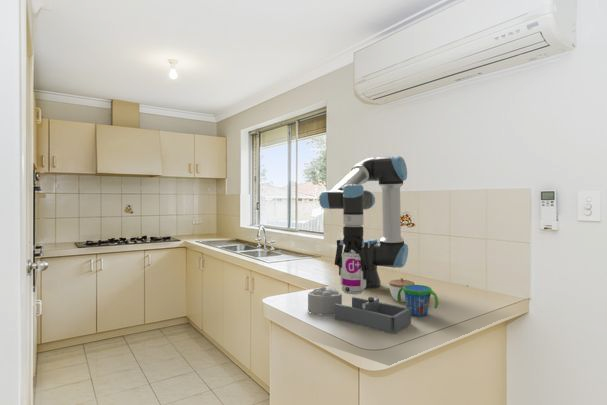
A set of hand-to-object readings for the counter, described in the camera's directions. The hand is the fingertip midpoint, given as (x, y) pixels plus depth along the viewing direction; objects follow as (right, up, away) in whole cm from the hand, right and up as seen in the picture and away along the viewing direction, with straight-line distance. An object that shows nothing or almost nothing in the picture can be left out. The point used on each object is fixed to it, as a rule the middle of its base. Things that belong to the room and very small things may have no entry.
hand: (353, 286), depth 139 cm
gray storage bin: (+6, -12, -5) cm, 14 cm away
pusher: (+6, -10, -5) cm, 13 cm away
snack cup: (+25, -12, +4) cm, 28 cm away
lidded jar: (+25, -11, +23) cm, 35 cm away
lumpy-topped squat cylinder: (-10, -12, +8) cm, 18 cm away
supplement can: (0, -2, 0) cm, 2 cm away
